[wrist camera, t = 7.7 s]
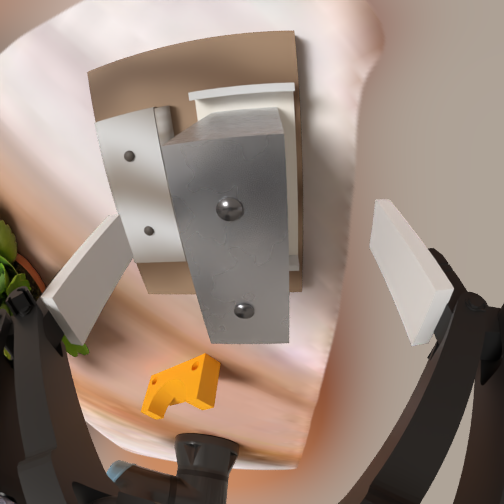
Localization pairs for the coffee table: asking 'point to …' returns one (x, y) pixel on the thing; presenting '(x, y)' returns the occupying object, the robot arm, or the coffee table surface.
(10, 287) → the potted flower
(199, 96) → the leaf seat
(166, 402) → the pipe clamp
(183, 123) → the hinge board
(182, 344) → the coffee table surface
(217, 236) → the leaf block
